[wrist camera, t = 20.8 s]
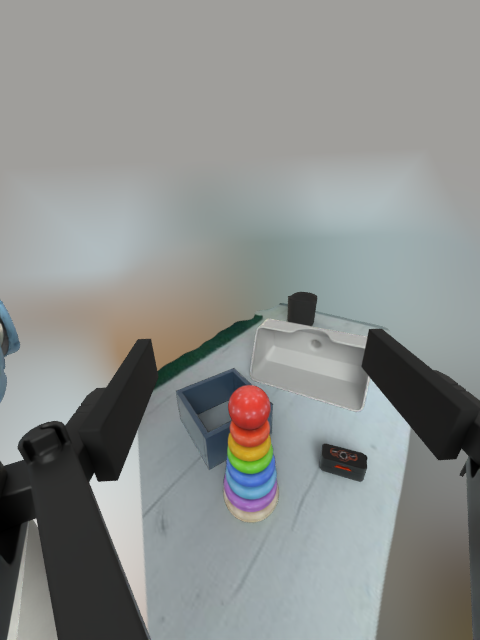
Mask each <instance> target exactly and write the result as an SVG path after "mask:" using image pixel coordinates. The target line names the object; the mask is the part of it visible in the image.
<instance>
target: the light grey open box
mask: <svg viewBox="0 0 480 640" xmlns="http://www.w3.org/2000/svg"><path fill="white" fill-rule="evenodd" d="M366 342H367V337H366V336H360V335H355V334H350V333H344V332H339V331H333V330H328V329H323V328H317V327H312V326H306V325H301V324H296V323H290V322H285V321H280V320H274V319H266V320H265V321H264V322H263V323H262V324H261V325H260V326H259V327H258V328H257V330H256V335H255V341H254V348H253V355H252V362H251V368H250V377H251V379H252V380H254V381H256V382H259V383H263V384H266V385H269V386H273V387H276V388H279V389H282V390H286V391H289V392H292V393H295V394H299V395H302V396H305V397H308V398H312V399H315V400H318V401H322V402H325V403H328V404H331V405H335V406H338V407H341V408H344V409H348V410H351V411H354V412H359V411H361V410H362V409H363V408H364V405H365V400H366V395H367V390H368V385H369V381H370V377H369V376H368V375H367V373H366V372H365V371H364V370H363V368H362V367H361V365H362V361H363V356H364V351H365V346H366Z"/></svg>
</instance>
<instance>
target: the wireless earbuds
mask: <svg viewBox="0 0 480 640" xmlns="http://www.w3.org/2000/svg"><path fill="white" fill-rule="evenodd" d="M320 468H321V470H322V471H325V472H328V473H332V474H335V475H339V476H342V477H345V478H349V479H352V480H356V481H359V482H361V481H363V480H364V476H365V473H366V469H367V456H366V455H364V454H363V453H360V452H356V451H352V450H348V449H345V448H341V447H337V446H333V445H329V444H323V445H322V451H321V457H320Z"/></svg>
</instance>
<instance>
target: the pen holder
mask: <svg viewBox="0 0 480 640" xmlns="http://www.w3.org/2000/svg"><path fill="white" fill-rule="evenodd" d="M316 303H317V296H316V295H315V294H312V293H308V292H297V293H294V294H293V295H291V296H288V322H290V323H296V324H301V325H306V326H312V325H313V322H314V316H315V310H316Z"/></svg>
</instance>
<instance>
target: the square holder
mask: <svg viewBox="0 0 480 640" xmlns="http://www.w3.org/2000/svg"><path fill="white" fill-rule="evenodd" d="M245 385H252V384H251V383H249V382H248V381H247V380H246V379H245V378H244V377H243V376H242V375H241V374H240V373H239V372H238V371H237V370H236V369H235V368H233V369H230V370H228V371H225V372H223V373H220V374H218V375H215V376H213V377H210V378H208V379H205V380H202V381H200V382H197V383H195V384H192V385H190V386H187V387H185V388H182V389H180V390H177V391H176V396H177V402H178V408H179V414H180V419H181V421H182V423H183V425H184V426H185V428H186V430H187V432H188V433H189V435H190V437H191V439H192V441H193V442H194V444H195V446H196V448H197V449H198V451H199V453H200V455H201V457H202V458H203V460H204V462H205V464H206V465H207V467H208V469H209V470H210V469H212V468H214V467H215V466H217V465H219V464H220V463H222V462H224V461H225V460H227V456H228V455H227V448H228V436H229V433H230V424H231V421H230V422H228V423H226V424H224V425H222V426H220V427H218V428H216V429H214V430H212V431H210V432H208V431H207V430H206V428H205V427H204V425H203V423H202V422H201V420H200V419H199V417H198V416H197V414H200V413H202V412H204V411H206V410H208V409H210V408H213V407H215V406H217V405H219V404H221V403H223V402H226V401H228V400H230V397H231V395H232V394H233V392H234V391H235V390H237V389H238V388H240V387H242V386H245ZM272 411H273V404H272V403H271V402H270V414H269V417H268V419H267V420H268V422H269V425H270V433H269V434H271V433H272Z"/></svg>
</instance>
